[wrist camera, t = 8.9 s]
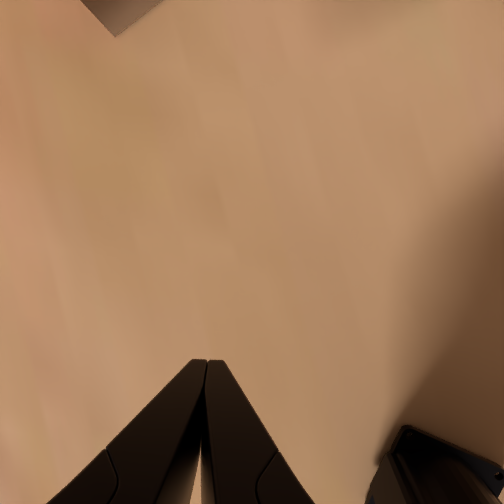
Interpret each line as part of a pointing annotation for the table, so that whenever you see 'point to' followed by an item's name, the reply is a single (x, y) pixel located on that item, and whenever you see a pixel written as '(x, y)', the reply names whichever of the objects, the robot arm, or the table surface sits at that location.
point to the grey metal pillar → (119, 12)
